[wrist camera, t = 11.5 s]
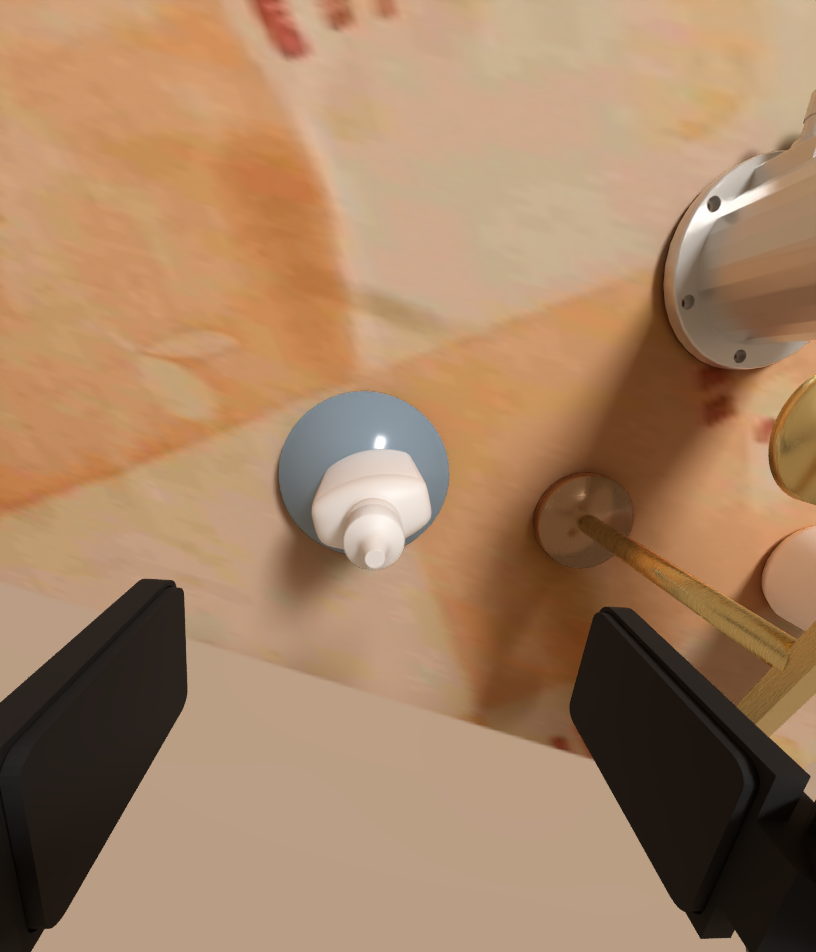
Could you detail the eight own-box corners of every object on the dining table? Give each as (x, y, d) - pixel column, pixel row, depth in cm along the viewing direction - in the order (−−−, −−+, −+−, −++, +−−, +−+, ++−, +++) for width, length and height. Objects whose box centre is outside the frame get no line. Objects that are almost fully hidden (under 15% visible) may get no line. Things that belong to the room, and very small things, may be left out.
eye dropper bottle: (337, 430, 24) (311, 478, 12) (421, 456, 25) (470, 523, 13) (319, 494, 25) (278, 595, 13) (401, 516, 26) (429, 629, 14)
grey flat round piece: (285, 381, 24) (281, 381, 23) (455, 400, 26) (460, 401, 24) (279, 543, 27) (275, 550, 26) (434, 552, 28) (437, 560, 27)
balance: (564, 363, 26) (974, 334, 8) (658, 376, 27) (1203, 372, 9) (508, 640, 31) (693, 979, 13) (589, 643, 32) (860, 963, 14)
